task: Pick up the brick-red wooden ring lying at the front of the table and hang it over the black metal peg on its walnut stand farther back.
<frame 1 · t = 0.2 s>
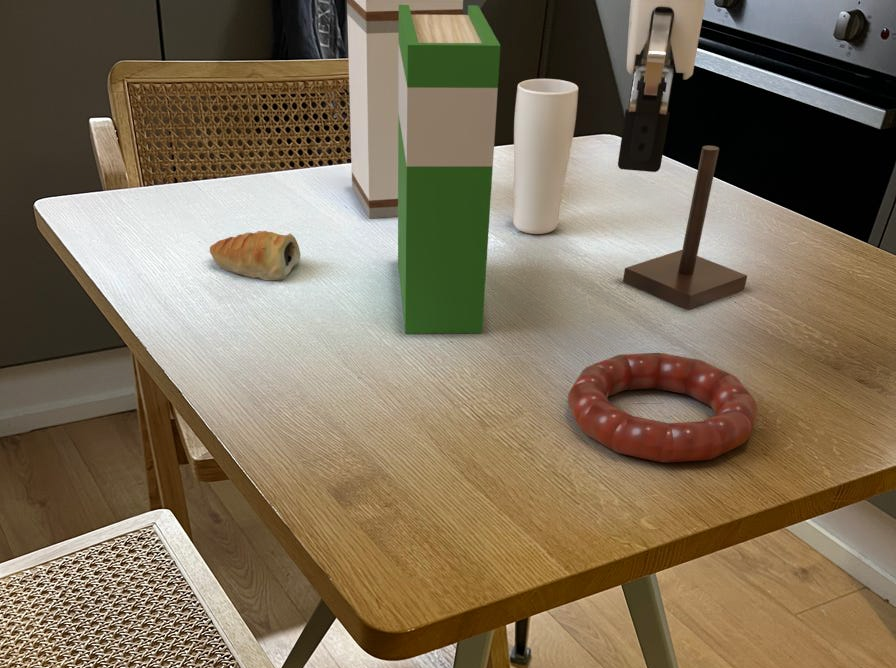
hand: (641, 151, 77), 18 cm above the table, tool pointing down, fingers open, 9 cm apart
hardback book: (437, 298, 100), on the table
ring: (661, 404, 80), point 1 cm above the table
drinking glass: (534, 229, 115), on the table
peg stand: (683, 285, 102), on the table
pastry: (259, 270, 104), on the table
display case: (401, 202, 122), on the table
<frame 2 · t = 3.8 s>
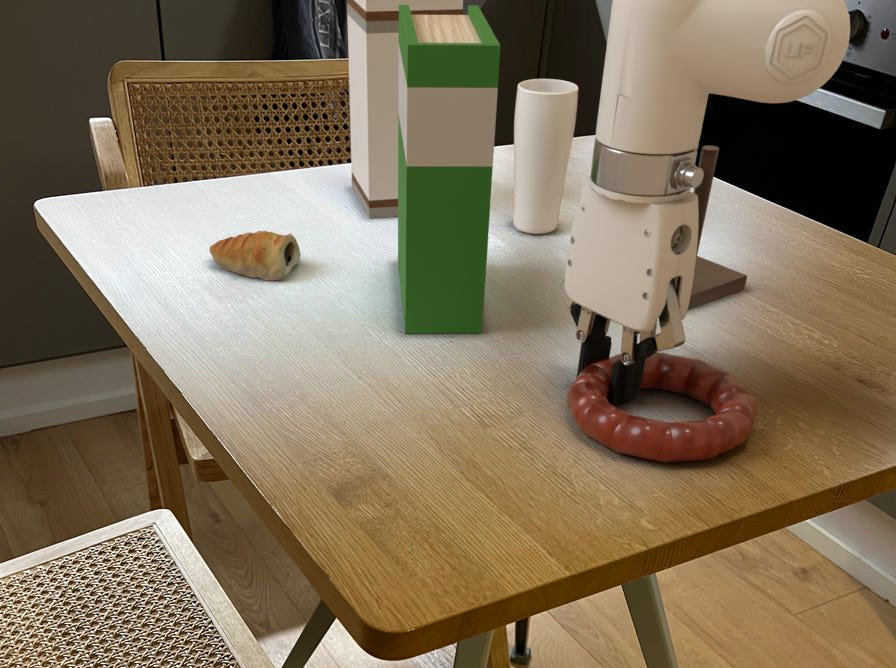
hand: (606, 390, 84), 0 cm above the table, tool pointing down, fingers closed on ring, 3 cm apart
ring: (660, 404, 80), point 2 cm above the table, touching gripper
everything else where it was.
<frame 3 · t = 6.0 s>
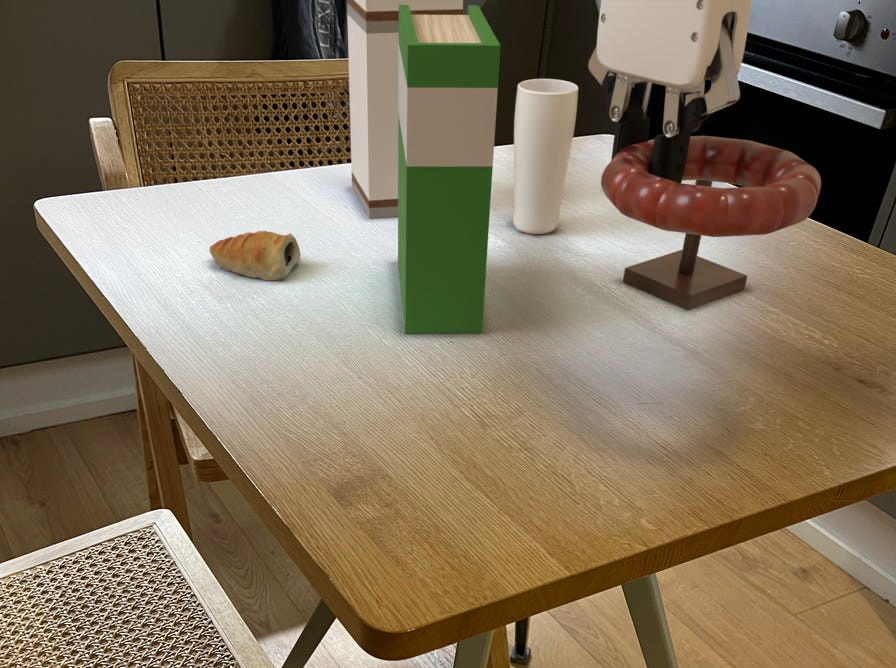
hand: (644, 181, 74), 17 cm above the table, tool pointing down, fingers closed on ring, 3 cm apart
ring: (709, 183, 69), point 18 cm above the table, touching gripper
everything else where it was.
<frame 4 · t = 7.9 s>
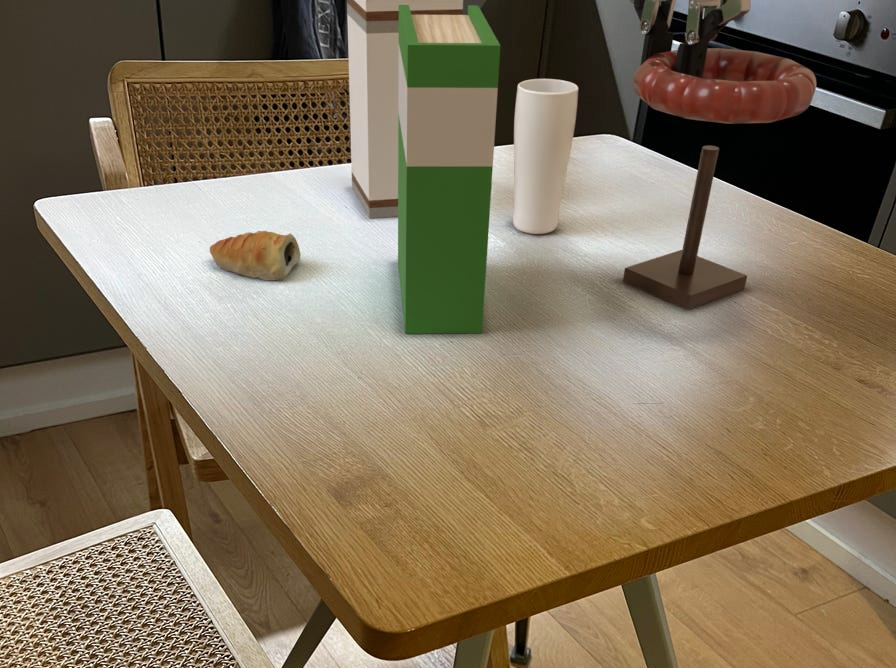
hand: (668, 86, 88), 19 cm above the table, tool pointing down, fingers closed on ring, 3 cm apart
ring: (723, 84, 83), point 20 cm above the table, touching gripper
everything else where it was.
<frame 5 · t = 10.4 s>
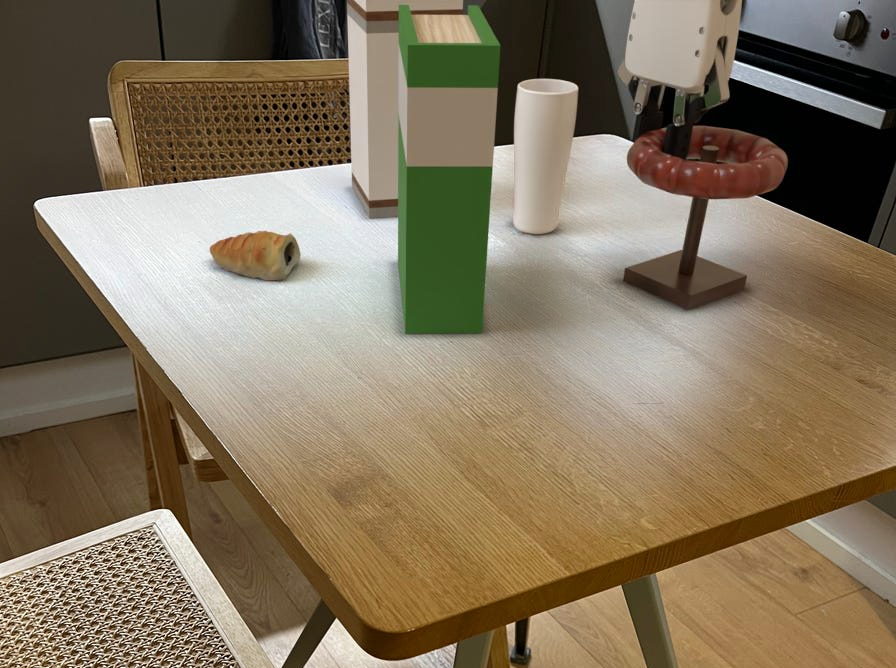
hand: (658, 159, 99), 11 cm above the table, tool pointing down, fingers closed on ring, 3 cm apart
ring: (706, 161, 94), point 12 cm above the table, touching gripper
everything else where it was.
when the fingers open (6 cm above the table, at t = 12.2 s): ring drops 4 cm, resting on peg stand.
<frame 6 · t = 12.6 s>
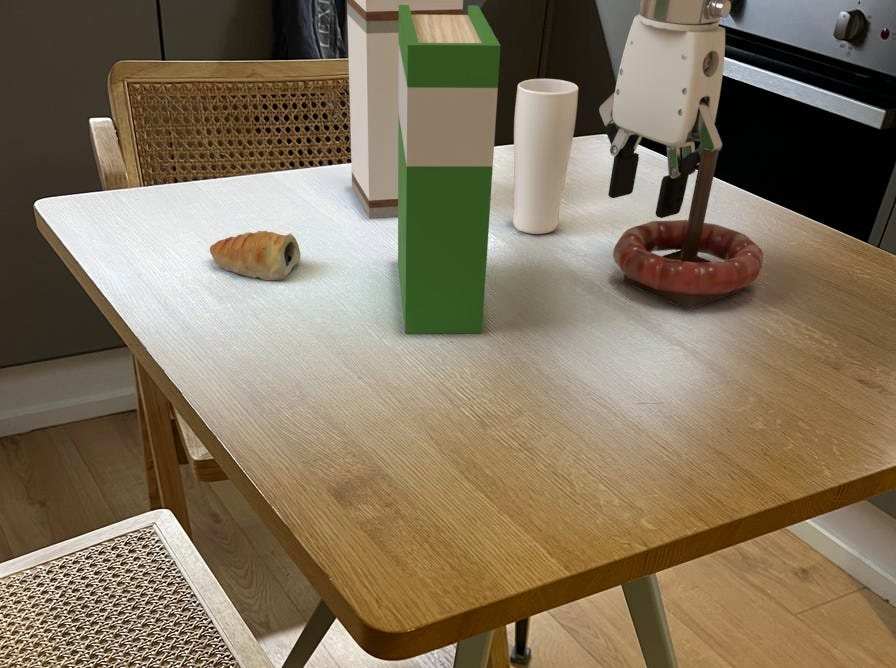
hand: (643, 203, 102), 6 cm above the table, tool pointing down, fingers open, 6 cm apart
ring: (687, 255, 101), point 3 cm above the table, touching peg stand
everything else where it was.
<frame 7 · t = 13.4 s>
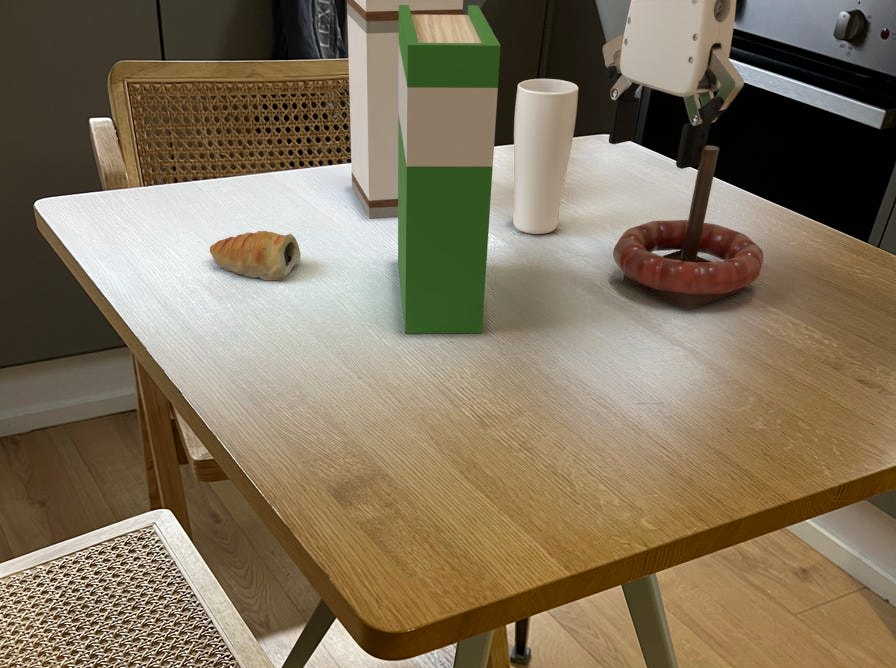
hand: (653, 153, 99), 11 cm above the table, tool pointing down, fingers open, 8 cm apart
nothing on the table moved.
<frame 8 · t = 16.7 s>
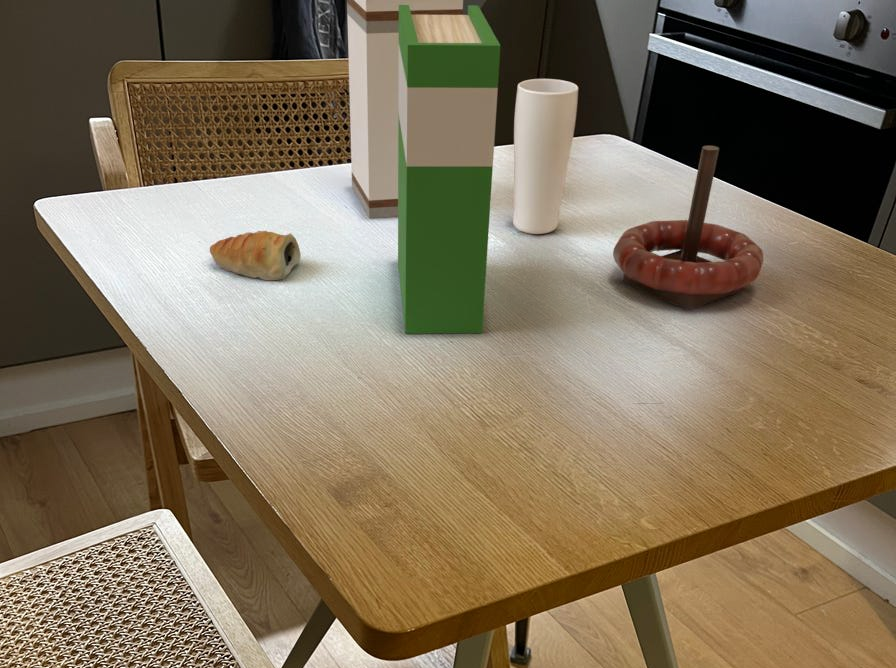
nothing on the table moved.
at the end: ring 0.3 cm from the peg stand (horizontally); ring point 3.0 cm above the table; the gripper is holding nothing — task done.
